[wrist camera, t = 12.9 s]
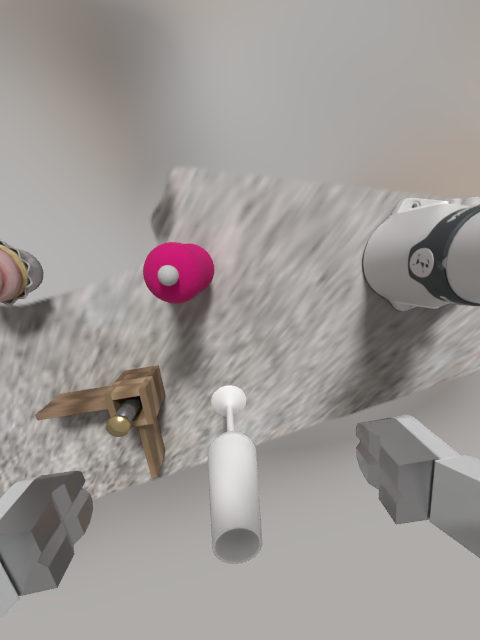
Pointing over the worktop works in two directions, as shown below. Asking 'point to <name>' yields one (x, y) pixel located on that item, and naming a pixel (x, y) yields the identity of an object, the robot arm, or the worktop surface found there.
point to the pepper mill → (177, 271)
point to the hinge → (112, 398)
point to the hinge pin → (123, 417)
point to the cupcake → (17, 274)
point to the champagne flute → (233, 485)
